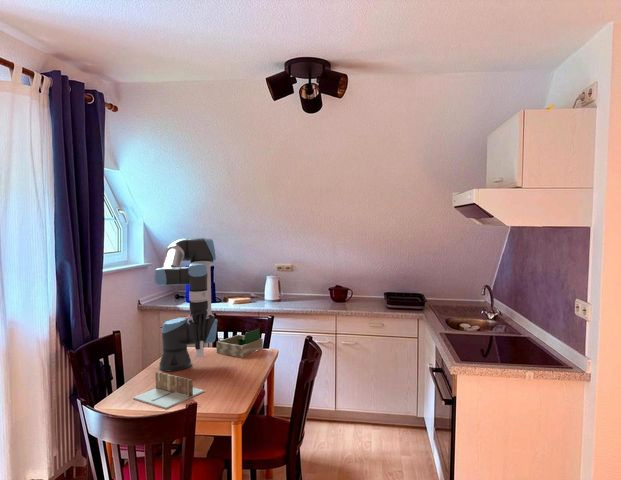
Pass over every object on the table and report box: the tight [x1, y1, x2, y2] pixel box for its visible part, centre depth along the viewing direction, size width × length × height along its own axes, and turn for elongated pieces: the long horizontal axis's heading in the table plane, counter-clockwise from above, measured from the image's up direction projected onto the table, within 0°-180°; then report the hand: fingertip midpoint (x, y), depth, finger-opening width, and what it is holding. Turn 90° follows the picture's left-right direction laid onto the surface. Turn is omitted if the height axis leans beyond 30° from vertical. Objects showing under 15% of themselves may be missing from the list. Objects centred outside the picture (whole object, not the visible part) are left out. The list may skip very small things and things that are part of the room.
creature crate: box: [216, 334, 264, 358], centre depth 244 cm, size 18×18×6 cm
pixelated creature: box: [238, 328, 261, 346], centre depth 245 cm, size 12×12×12 cm
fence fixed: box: [154, 371, 176, 393], centre depth 186 cm, size 11×2×8 cm, turn 58°
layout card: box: [132, 386, 205, 410], centre depth 182 cm, size 20×20×1 cm
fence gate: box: [174, 375, 194, 397], centre depth 181 cm, size 10×2×7 cm, turn 58°
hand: (200, 356), depth 186 cm, fingers closed
